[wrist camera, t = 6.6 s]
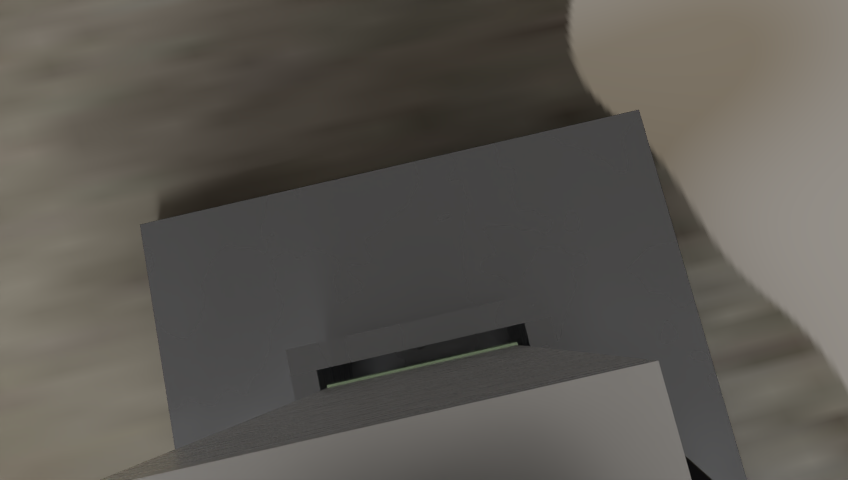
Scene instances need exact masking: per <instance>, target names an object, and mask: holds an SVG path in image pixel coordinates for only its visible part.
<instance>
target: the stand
mask: <svg viewBox="0 0 848 480" xmlns="http://www.w3.org/2000/svg"><path fill="white" fill-rule="evenodd" d="M140 227H141V234H142V240H143V247H144V253H145V259H146V266H147V272H148V279H149V285H150V291H151V298H152V304H153V311H154V317H155V323H156V330H157V336H158V343H159V349H160V355H161V362H162V368H163V375H164V381H165V387H166V394H167V400H168V406H169V413H170V419H171V426H172V432H173V438H174V445H175V449H178V448H180V447H183V446H185V445H188V444H190V443H193V442H195V441H197V440H200V439H202V438H205V437H207V436H210V435H212V434H215V433H217V432H220V431H222V430H225V429H227V428H230V427H232V426H235V425H237V424H240V423H242V422H245V421H247V420H249V419H252V418H254V417H257V416H259V415H262V414H264V413H267V412H269V411H272V410H274V409H277V408H279V407H282V406H284V405H287V404H289V403H292V402H294V401H297V400H299V399H302V398H304V397H306V396H309V395H311V394H314V393H316V392H319V391H321V390H324V389H326V388H327V385H329V384H332V383H335V382H339V381H343V380H348V379H352V378H357V377H361V376H365V375H370V374H374V373H379V372H383V371H387V370H392V369H396V368H400V367H405V366H409V365H414V364H418V363H422V362H427V361H431V360H436V359H440V358H444V357H449V356H453V355H458V354H462V353H466V352H471V351H475V350H480V349H484V348H488V347H493V346H497V345H502V344H506V343H510V342H517V343H518V345H521V346H530V347H539V348H548V349H557V350H567V351H576V352H585V353H594V354H603V355H612V356H621V357H630V358H639V359H648V360H657V361H659V364H660V368H661V372H662V375H663V379H664V382H665V386H666V390H667V393H668V397H669V400H670V404H671V407H672V411H673V415H674V418H675V422H676V425H677V429H678V433H679V436H680V440H681V443H682V447H683V451H684V454H685V456H686V457H687V458H689V459H690V460H691V461H692V462H693V463H694V464H695V465H696V466H698V467H699V468H700V469H701V470H702V471H703V472H704V473H706V474H707V475H708V476H709V477H710V478H711V479H712V480H747V479H746V475H745V472H744V469H743V465H742V462H741V458H740V455H739V451H738V448H737V445H736V441H735V438H734V434H733V431H732V427H731V424H730V421H729V417H728V414H727V410H726V407H725V403H724V400H723V397H722V393H721V390H720V386H719V383H718V379H717V376H716V373H715V369H714V366H713V362H712V359H711V355H710V352H709V349H708V345H707V342H706V338H705V335H704V331H703V328H702V325H701V321H700V318H699V314H698V311H697V308H696V304H695V301H694V297H693V294H692V290H691V287H690V284H689V280H688V277H687V273H686V270H685V266H684V263H683V260H682V256H681V253H680V249H679V246H678V242H677V239H676V236H675V232H674V229H673V225H672V222H671V218H670V215H669V212H668V208H667V205H666V201H665V198H664V194H663V191H662V188H661V184H660V181H659V177H658V174H657V170H656V167H655V164H654V160H653V157H652V153H651V150H650V146H649V143H648V140H647V136H646V133H645V129H644V126H643V123H642V119H641V116H640V112H639V110H636V111H631V112H627V113H623V114H619V115H614V116H610V117H605V118H601V119H596V120H592V121H588V122H583V123H579V124H575V125H570V126H566V127H562V128H557V129H553V130H549V131H544V132H540V133H536V134H531V135H527V136H523V137H518V138H514V139H510V140H505V141H501V142H497V143H492V144H488V145H484V146H479V147H475V148H470V149H466V150H462V151H457V152H453V153H449V154H444V155H440V156H436V157H431V158H427V159H423V160H418V161H414V162H410V163H405V164H401V165H397V166H392V167H388V168H384V169H379V170H375V171H371V172H366V173H362V174H357V175H353V176H349V177H344V178H340V179H336V180H331V181H327V182H323V183H318V184H314V185H310V186H305V187H301V188H297V189H292V190H288V191H284V192H279V193H275V194H271V195H266V196H262V197H258V198H253V199H249V200H244V201H240V202H236V203H231V204H227V205H223V206H218V207H214V208H210V209H205V210H201V211H197V212H192V213H188V214H184V215H179V216H175V217H171V218H166V219H162V220H158V221H153V222H149V223H145V224H140Z"/></svg>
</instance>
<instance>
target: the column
mask: <svg viewBox="0 0 848 480" xmlns="http://www.w3.org/2000/svg"><path fill="white" fill-rule="evenodd" d="M101 480H692V479H691V476H690V472H689V468H688V465H687V461H686V458H685V454H684V451H683V447H682V443H681V440H680V436H679V433H678V429H677V425H676V422H675V418H674V415H673V411H672V407H671V404H670V400H669V397H668V393H667V390H666V386H665V382H664V379H663V375H662V372H661V368H660V364H659V361H657V360H648V359H639V358H630V357H621V356H612V355H603V354H594V353H585V352H576V351H567V350H557V349H548V348H539V347H530V346H521V345H518V343H517V342H510V343H506V344H502V345H497V346H493V347H488V348H484V349H480V350H475V351H471V352H466V353H462V354H458V355H453V356H449V357H444V358H440V359H436V360H431V361H427V362H422V363H418V364H414V365H409V366H405V367H400V368H396V369H392V370H387V371H383V372H379V373H374V374H370V375H365V376H361V377H357V378H352V379H348V380H343V381H339V382H335V383H332V384H329V385H327V388H326V389H324V390H321V391H319V392H316V393H314V394H311V395H309V396H306V397H304V398H302V399H299V400H297V401H294V402H292V403H289V404H287V405H284V406H282V407H279V408H277V409H274V410H272V411H269V412H267V413H264V414H262V415H259V416H257V417H254V418H252V419H249V420H247V421H245V422H242V423H240V424H237V425H235V426H232V427H230V428H227V429H225V430H222V431H220V432H217V433H215V434H212V435H210V436H207V437H205V438H202V439H200V440H197V441H195V442H193V443H190V444H188V445H185V446H183V447H180V448H178V449H175V450H173V451H170V452H168V453H165V454H163V455H160V456H158V457H155V458H153V459H150V460H148V461H145V462H143V463H141V464H138V465H136V466H133V467H131V468H128V469H126V470H123V471H121V472H118V473H116V474H113V475H111V476H108V477H106V478H103V479H101Z"/></svg>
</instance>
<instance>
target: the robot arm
mask: <svg viewBox="0 0 848 480" xmlns="http://www.w3.org/2000/svg"><path fill="white" fill-rule="evenodd" d="M685 458H686V461H687V465H688V468H689V472H690V476H691V479H692V480H712V479H711V478H710V477H709V476H708V475H707V474H706V473H704V472H703V471H702V470H701V469H700V468H699V467H698V466H696V465H695V464H694V463H693V462H692V461H691V460H690V459H689V458H687V457H686V456H685Z"/></svg>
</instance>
